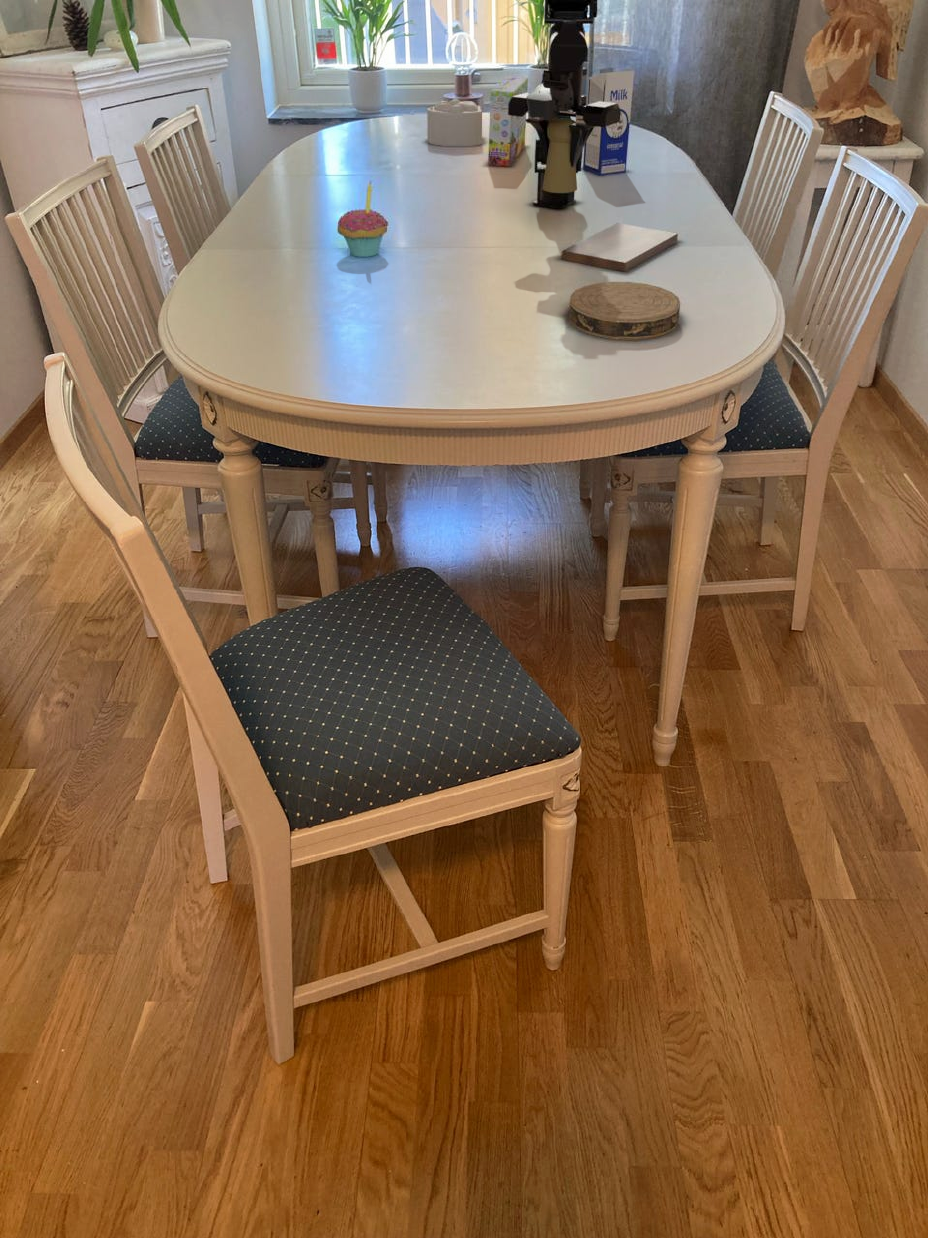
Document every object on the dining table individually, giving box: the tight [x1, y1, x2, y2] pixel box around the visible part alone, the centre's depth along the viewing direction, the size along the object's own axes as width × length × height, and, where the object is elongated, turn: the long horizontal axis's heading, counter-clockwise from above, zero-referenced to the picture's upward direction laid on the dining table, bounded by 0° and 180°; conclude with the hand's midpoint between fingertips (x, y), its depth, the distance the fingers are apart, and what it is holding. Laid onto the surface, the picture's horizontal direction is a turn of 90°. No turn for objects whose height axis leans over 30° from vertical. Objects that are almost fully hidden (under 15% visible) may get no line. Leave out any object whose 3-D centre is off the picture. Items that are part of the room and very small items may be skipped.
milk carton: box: [582, 67, 635, 176], centre depth 221 cm, size 7×7×20 cm
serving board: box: [561, 222, 679, 273], centre depth 179 cm, size 12×20×2 cm, turn 146°
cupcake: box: [336, 180, 389, 258], centre depth 175 cm, size 9×8×12 cm
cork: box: [542, 118, 578, 193], centre depth 176 cm, size 6×6×11 cm
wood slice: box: [568, 281, 681, 341], centre depth 151 cm, size 16×16×3 cm
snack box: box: [487, 76, 529, 167], centre depth 234 cm, size 21×6×15 cm, turn 168°
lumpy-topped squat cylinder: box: [426, 98, 483, 147], centre depth 248 cm, size 10×13×9 cm
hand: (560, 164), depth 177 cm, fingers closed on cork, 4 cm apart
